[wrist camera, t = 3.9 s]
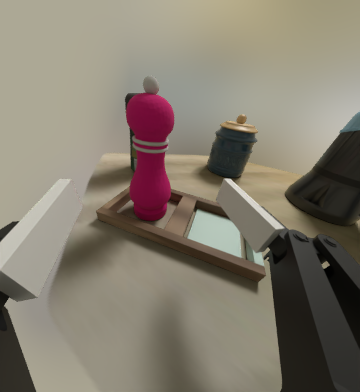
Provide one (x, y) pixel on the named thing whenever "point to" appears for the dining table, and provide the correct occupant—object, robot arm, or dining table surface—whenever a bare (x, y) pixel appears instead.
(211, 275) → the dining table surface
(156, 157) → the pepper mill
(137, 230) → the brown wooden frame
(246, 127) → the canister
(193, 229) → the pad
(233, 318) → the dining table surface
